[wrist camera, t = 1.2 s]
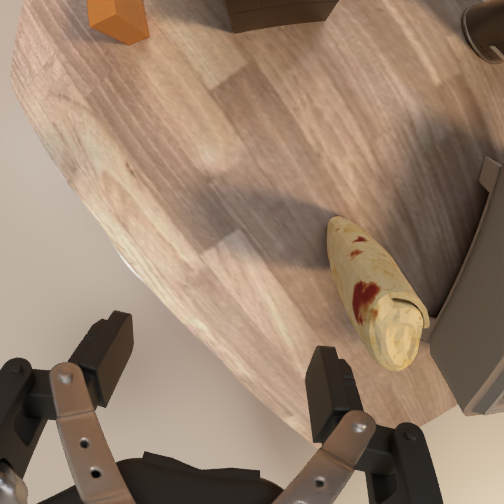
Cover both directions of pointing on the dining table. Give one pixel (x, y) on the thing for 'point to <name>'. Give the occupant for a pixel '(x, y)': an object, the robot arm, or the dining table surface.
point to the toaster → (476, 312)
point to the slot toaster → (275, 12)
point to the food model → (375, 295)
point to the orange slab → (119, 19)
